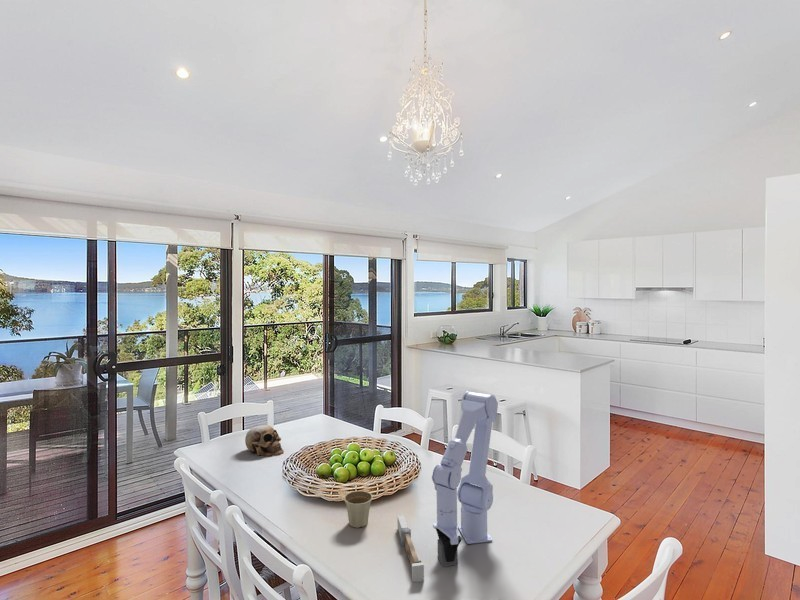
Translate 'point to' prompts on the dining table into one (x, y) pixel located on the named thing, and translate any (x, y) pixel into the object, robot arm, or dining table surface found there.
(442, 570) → the dining table surface
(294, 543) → the dining table surface
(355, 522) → the flower pot
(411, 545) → the door
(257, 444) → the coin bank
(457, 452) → the robot arm
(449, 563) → the block
